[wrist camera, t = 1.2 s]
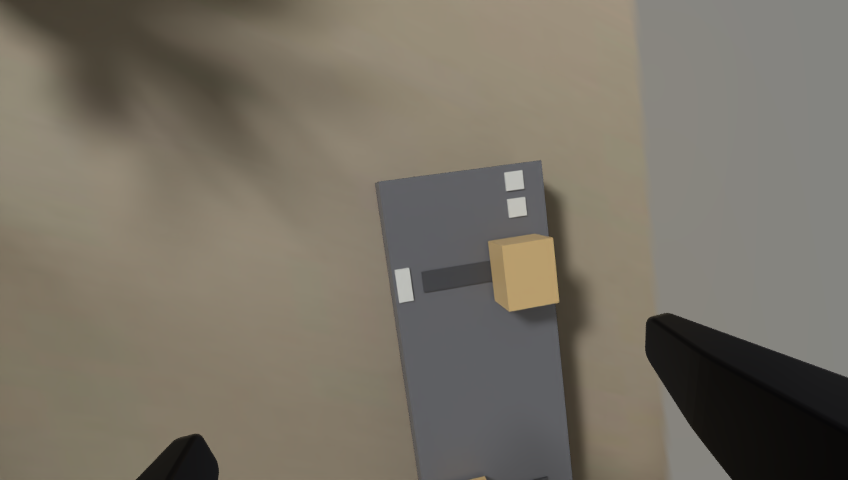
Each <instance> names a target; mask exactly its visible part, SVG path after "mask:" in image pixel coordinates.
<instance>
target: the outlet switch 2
mask: <svg viewBox="0 0 848 480" xmlns="http://www.w3.org/2000/svg"><path fill="white" fill-rule="evenodd" d="M488 246H489V255H490V263H491V272H492V281H493V289H494V298H495V301H496V302H497V303H498V304H500V305H501V306H502V307H504V308H505V309H506V310H508V311H509V312H511V311H516V310H522V309H527V308H532V307H538V306H543V305H549V304H554V303H559V294H558V284H557V273H556V263H555V253H554V243H553V238H552V237H548V236H543V235H539V234H529V235H523V236H517V237H510V238H504V239H498V240H491V241H488Z"/></svg>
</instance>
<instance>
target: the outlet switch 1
mask: <svg viewBox="0 0 848 480" xmlns="http://www.w3.org/2000/svg"><path fill="white" fill-rule="evenodd" d="M470 480H486V478H485V476H483V477H479V478H474V479H470Z"/></svg>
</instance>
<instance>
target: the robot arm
mask: <svg viewBox="0 0 848 480" xmlns="http://www.w3.org/2000/svg"><path fill="white" fill-rule="evenodd" d="M645 351H646V355H647V358H648V360H649V362H650V363H651V365H652V367H653V368H654V370H655V371H656V373H657V374H658V376H659V378H660V379H661V381H662V382H663V384H664V385H665V387H666V389H667V390H668V392H669V393H670V395H671V396H672V398H673V399H674V401H675V402H676V404H677V406H678V407H679V409H680V410H681V412H682V414H683V415H684V417H685V418H686V420H687V421H688V423H689V424H690V426H691V427H692V429H693V430H694V431H695V433H696V434H697V435H698V436H699V438H700V439H701V441H702V442H703V443H704V445H705V446H706V447H707V448H708V450H709V451H710V452H711V453H712V455H713V456H714V457H715V459H716V460H717V461H718V462H719V464H720V465H721V466H722V467H723V469H724V470H725V471H726V473H727V474H728V475H729V476H730V478H731V479H732V480H848V378H847V377H845V376H842V375H839V374H837V373H834V372H831V371H828V370H826V369H822V368H820V367H817V366H815V365H812V364H809V363H806V362H803V361H801V360H798V359H795V358H792V357H790V356H787V355H784V354H781V353H779V352H776V351H773V350H770V349H767V348H765V347H762V346H759V345H756V344H754V343H751V342H748V341H745V340H743V339H740V338H737V337H734V336H732V335H729V334H726V333H723V332H720V331H718V330H714V329H712V328H709V327H707V326H704V325H701V324H698V323H696V322H693V321H690V320H687V319H684V318H682V317H679V316H676V315H673V314H670V313H664V314H660V315H656V316H652V317H650V318H648V320H647V322H646V340H645ZM218 475H219V468H218V463H217V460H216V458H215V457H214V455H213V453H212V452H211V450H210V448H209V447H208V445H207V443H206V442H205V440H204V438H203V437H202V436H201V435H200V434H192V435H188V436H184V437H180V438H178V439H176V440H174V441H173V442H172V443H171V444H170V445H169V446H168V447H167V448H166V449H165V450H164V451H163V452H162V453H161V454H160V455H159V456H158V457H157V459H156V460H155V461H154V462H153V463H152V464H151V465H150V466H149V467H148V468H147V469H146V470H145V471H144V472H143V473H142V474H141V475H140V476H139V477H138V478H137V479H136V480H218Z"/></svg>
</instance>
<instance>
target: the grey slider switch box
mask: <svg viewBox="0 0 848 480" xmlns="http://www.w3.org/2000/svg"><path fill="white" fill-rule="evenodd" d="M375 187H376V194H377V201H378V207H379V214H380V221H381V228H382V235H383V241H384V248H385V255H386V262H387V269H388V275H389V282H390V289H391V296H392V303H393V309H394V316H395V323H396V330H397V337H398V344H399V350H400V357H401V364H402V371H403V378H404V384H405V391H406V398H407V405H408V412H409V418H410V425H411V432H412V439H413V446H414V452H415V459H416V466H417V473H418V480H470V479H474V478H479V477H483V476H485V478H486V480H573V479H572V469H571V459H570V449H569V438H568V428H567V418H566V408H565V398H564V388H563V377H562V367H561V357H560V347H559V337H558V326H557V316H556V306H555V303H554V304H549V305H543V306H538V307H532V308H527V309H522V310H516V311H511V312H509V311H508V310H506V309H505V308H504V307H502V306H501V305H500V304H498V303H497V302H496V301H495V298H494V289H493V281H492V272H491V263H490V255H489V246H488V241H491V240H498V239H504V238H510V237H517V236H523V235H529V234H539V235H543V236H548V237H549V235H548V225H547V214H546V204H545V194H544V184H543V174H542V164H541V160H539V161H532V162H524V163H517V164H509V165H502V166H494V167H486V168H479V169H471V170H464V171H456V172H449V173H441V174H434V175H426V176H418V177H411V178H403V179H396V180H388V181H381V182H377V183H375Z"/></svg>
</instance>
